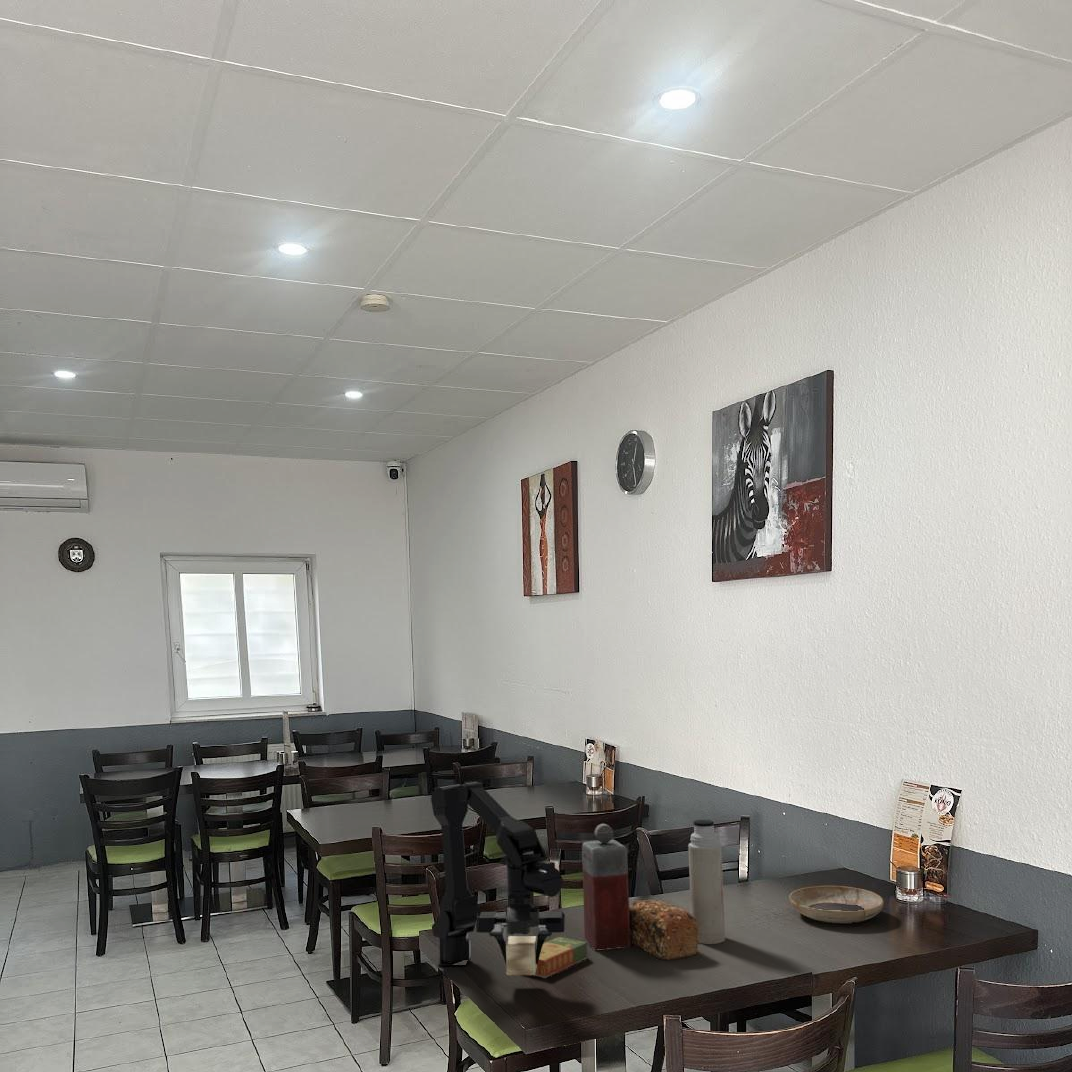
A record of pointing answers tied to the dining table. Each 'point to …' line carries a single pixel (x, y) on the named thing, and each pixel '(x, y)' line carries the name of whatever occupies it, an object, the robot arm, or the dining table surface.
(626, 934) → the red sauce bottle
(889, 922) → the dining table surface
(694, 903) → the thermos bottle
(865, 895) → the ceramic bowl
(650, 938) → the bread
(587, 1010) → the dining table surface
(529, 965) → the beech cube
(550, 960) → the carton
